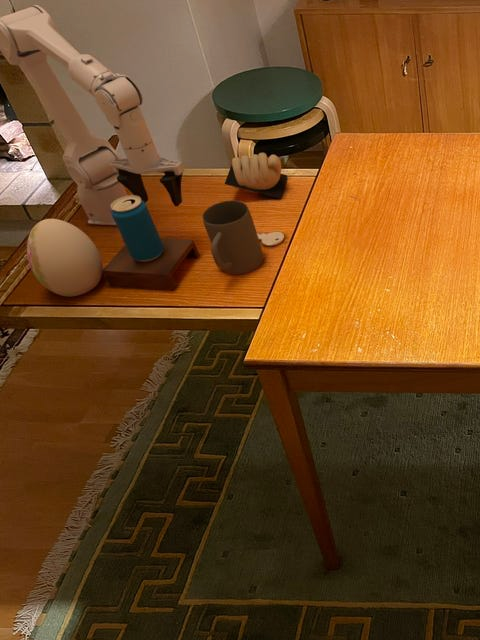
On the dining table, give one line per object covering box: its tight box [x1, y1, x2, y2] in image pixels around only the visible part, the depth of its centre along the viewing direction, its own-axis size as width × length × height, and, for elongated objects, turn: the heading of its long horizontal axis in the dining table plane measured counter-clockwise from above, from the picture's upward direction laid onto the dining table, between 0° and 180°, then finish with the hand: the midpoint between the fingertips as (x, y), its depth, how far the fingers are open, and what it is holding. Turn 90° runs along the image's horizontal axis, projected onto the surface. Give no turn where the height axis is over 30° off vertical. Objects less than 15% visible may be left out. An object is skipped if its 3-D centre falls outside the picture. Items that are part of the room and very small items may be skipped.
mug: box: [202, 200, 264, 275], centre depth 143 cm, size 14×9×12 cm
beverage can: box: [111, 194, 164, 262], centre depth 141 cm, size 6×6×12 cm
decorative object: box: [224, 152, 288, 200], centre depth 166 cm, size 13×10×10 cm
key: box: [257, 231, 285, 247], centre depth 155 cm, size 11×1×5 cm
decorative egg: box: [26, 218, 103, 298], centre depth 141 cm, size 12×12×15 cm
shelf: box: [102, 237, 200, 291], centre depth 147 cm, size 14×12×4 cm
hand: (161, 202), depth 149 cm, fingers open, 7 cm apart
